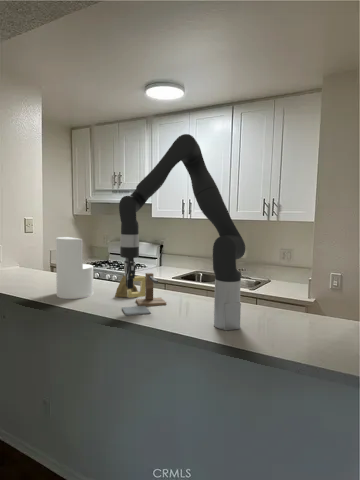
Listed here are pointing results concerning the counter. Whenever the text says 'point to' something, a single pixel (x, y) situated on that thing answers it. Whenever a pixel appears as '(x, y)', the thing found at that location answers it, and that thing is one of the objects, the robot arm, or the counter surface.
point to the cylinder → (72, 269)
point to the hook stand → (150, 293)
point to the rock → (124, 288)
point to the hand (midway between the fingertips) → (129, 287)
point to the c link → (142, 288)
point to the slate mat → (135, 310)
